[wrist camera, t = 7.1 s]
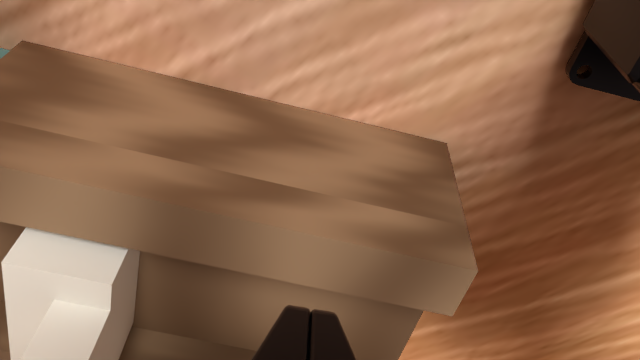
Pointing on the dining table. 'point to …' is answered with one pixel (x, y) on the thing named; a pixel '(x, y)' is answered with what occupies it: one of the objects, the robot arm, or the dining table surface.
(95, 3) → the dining table surface
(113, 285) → the white offset block
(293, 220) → the launcher deck
